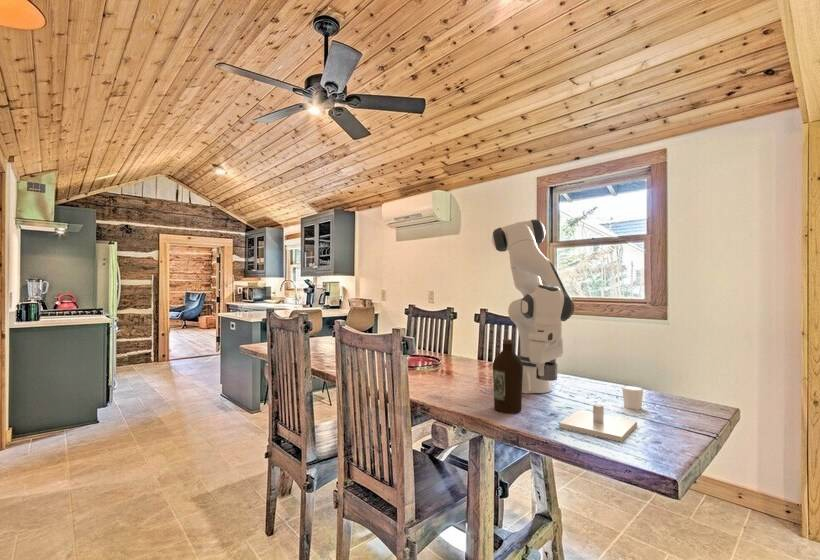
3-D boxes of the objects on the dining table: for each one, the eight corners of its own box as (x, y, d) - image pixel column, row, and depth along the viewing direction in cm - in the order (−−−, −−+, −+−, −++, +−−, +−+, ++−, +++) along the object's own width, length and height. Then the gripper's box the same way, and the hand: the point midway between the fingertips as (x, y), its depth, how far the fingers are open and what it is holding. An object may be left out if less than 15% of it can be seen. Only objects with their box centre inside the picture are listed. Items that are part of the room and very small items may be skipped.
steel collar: (533, 378, 139) (533, 363, 139) (540, 374, 144) (541, 360, 144) (552, 381, 134) (552, 366, 134) (559, 378, 139) (560, 363, 139)
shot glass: (646, 410, 146) (646, 390, 146) (625, 409, 147) (625, 389, 147) (639, 404, 153) (639, 385, 153) (619, 403, 154) (619, 385, 154)
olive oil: (510, 403, 154) (510, 337, 154) (529, 412, 144) (529, 340, 144) (486, 407, 150) (486, 338, 150) (504, 415, 140) (504, 342, 140)
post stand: (559, 427, 129) (559, 406, 129) (579, 413, 142) (579, 395, 142) (621, 442, 117) (621, 419, 117) (637, 425, 130) (636, 405, 130)
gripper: (550, 328, 149) (549, 366, 149) (525, 334, 133) (524, 377, 133) (567, 330, 145) (567, 369, 145) (544, 337, 129) (543, 380, 129)
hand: (546, 373), depth 139 cm, fingers closed on steel collar, 7 cm apart
